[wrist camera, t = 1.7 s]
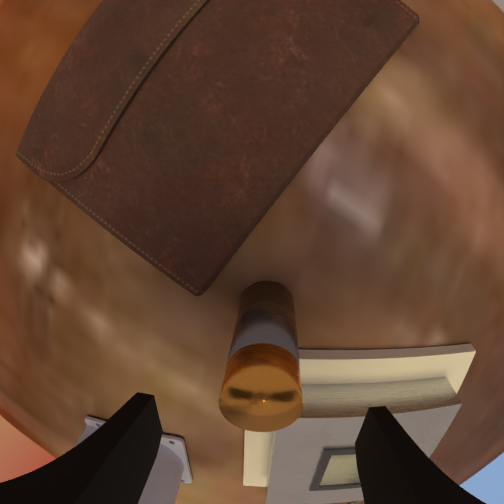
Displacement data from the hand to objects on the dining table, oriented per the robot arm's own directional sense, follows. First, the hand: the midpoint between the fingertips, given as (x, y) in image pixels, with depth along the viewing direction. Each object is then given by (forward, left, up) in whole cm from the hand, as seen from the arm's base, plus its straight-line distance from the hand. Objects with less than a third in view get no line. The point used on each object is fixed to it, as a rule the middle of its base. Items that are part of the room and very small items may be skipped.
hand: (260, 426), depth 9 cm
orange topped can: (0, 0, -9) cm, 9 cm away
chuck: (+7, -11, -9) cm, 16 cm away
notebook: (-4, +13, -10) cm, 17 cm away
